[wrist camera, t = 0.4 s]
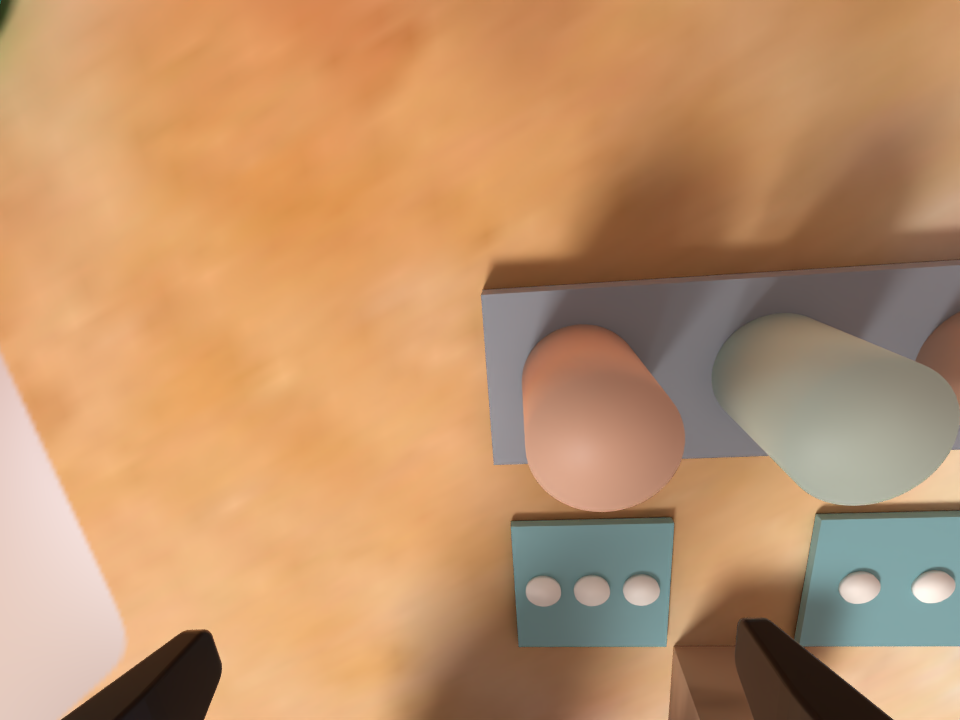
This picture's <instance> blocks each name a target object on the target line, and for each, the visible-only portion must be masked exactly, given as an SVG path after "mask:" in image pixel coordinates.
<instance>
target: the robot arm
mask: <svg viewBox="0 0 960 720" xmlns="http://www.w3.org/2000/svg"><path fill="white" fill-rule="evenodd" d="M735 665H736V669H737V673H738V676H739V679H740V682H741V685H742V687H743V690H744V693H745V696H746V699H747V702H748V705H749V707H750V710H751V713H752V716H753V719H754V720H893V719H892V718H891V717H890V716H888V715H887V714H886V713H885V712H883V711H882V710H881V709H880V708H878V707H877V706H876V705H875V704H873V703H872V702H871V701H870V700H868V699H867V698H866V697H865V696H863V695H862V694H861V693H860V692H858V691H857V690H856V689H855V688H853V687H852V686H851V685H850V684H849V683H847V682H846V681H845V680H844V679H842V678H841V677H840V676H839V675H837V674H836V673H835V672H834V671H832V670H831V669H830V668H829V667H827V666H826V665H825V664H824V663H822V662H821V661H820V660H819V659H817V658H816V657H815V656H814V655H813V654H811V653H810V652H809V651H808V650H806V649H805V648H804V647H803V646H801V645H800V644H799V643H798V642H796V641H795V640H794V639H793V638H791V637H790V636H789V635H788V634H786V633H785V632H784V631H783V630H781V629H780V628H779V627H778V626H776V625H775V624H774V623H773V622H771V621H770V620H768V619H766V618H742V619H740V620H739V622H738V625H737V635H736V646H735ZM221 672H222V663H221V660H220V657H219V654H218V651H217V648H216V645H215V642H214V639H213V636H212V634H211V633H210V632H209V631H208V630H186V631H183V632H182V633H180V634H178V635H177V636H176V637H174V638H173V639H172V640H170V641H169V642H167V643H166V644H165V645H163V646H162V647H161V648H159V649H158V650H156V651H155V652H154V653H152V654H151V655H150V656H148V657H147V658H145V659H144V660H143V661H141V662H140V663H139V664H137V665H136V666H134V667H133V668H132V669H130V670H129V671H127V672H126V673H125V674H123V675H122V676H121V677H119V678H118V679H116V680H115V681H114V682H112V683H111V684H110V685H108V686H107V687H105V688H104V689H103V690H101V691H100V692H99V693H97V694H96V695H94V696H93V697H92V698H90V699H89V700H88V701H86V702H85V703H83V704H82V705H81V706H79V707H78V708H77V709H75V710H74V711H72V712H71V713H70V714H68V715H67V716H65V717H64V718H63V719H61V720H204V718H205V716H206V713H207V711H208V708H209V706H210V703H211V701H212V698H213V696H214V693H215V691H216V688H217V685H218V683H219V680H220V677H221Z"/></svg>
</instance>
